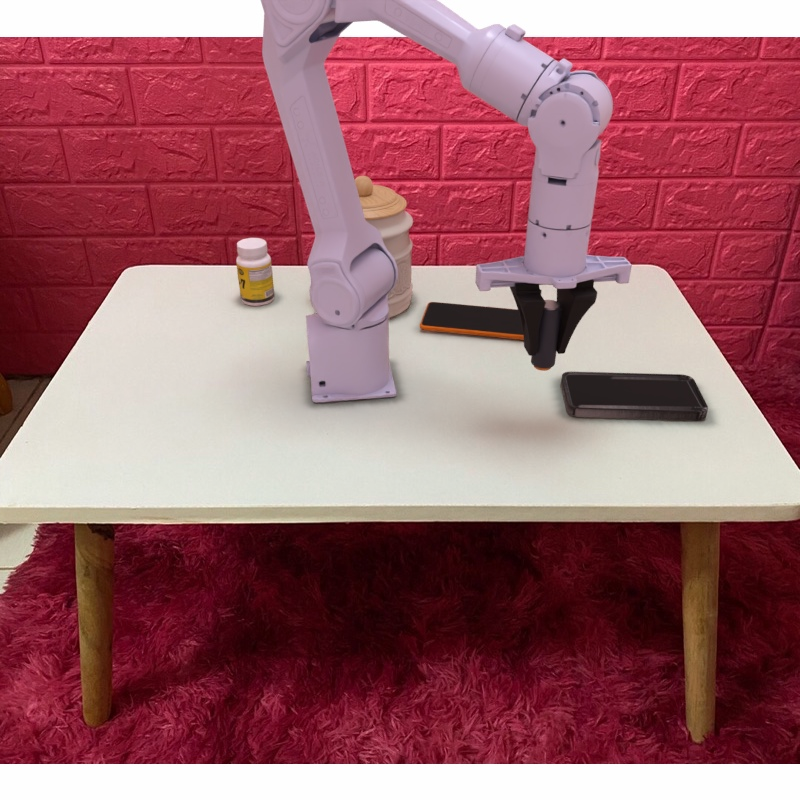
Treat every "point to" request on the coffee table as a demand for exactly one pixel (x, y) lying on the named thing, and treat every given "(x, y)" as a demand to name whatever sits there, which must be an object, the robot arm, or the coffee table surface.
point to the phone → (633, 396)
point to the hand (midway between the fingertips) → (543, 349)
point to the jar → (390, 235)
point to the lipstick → (548, 336)
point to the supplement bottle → (254, 272)
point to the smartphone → (472, 320)
